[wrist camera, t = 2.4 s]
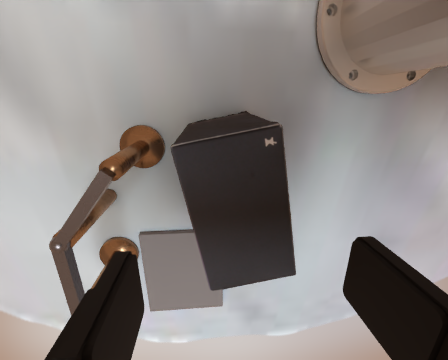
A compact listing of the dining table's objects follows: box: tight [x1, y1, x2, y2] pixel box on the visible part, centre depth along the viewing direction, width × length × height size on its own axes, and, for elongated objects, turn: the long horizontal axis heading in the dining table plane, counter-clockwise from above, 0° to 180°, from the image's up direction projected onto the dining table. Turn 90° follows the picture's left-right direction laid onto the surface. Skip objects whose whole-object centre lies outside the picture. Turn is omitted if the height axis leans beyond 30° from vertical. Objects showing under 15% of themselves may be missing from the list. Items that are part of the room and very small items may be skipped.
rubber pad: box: [139, 230, 223, 311], centre depth 26 cm, size 9×11×1 cm
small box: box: [171, 111, 296, 291], centre depth 18 cm, size 11×6×10 cm, turn 11°
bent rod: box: [49, 125, 165, 316], centre depth 19 cm, size 5×17×9 cm, turn 162°
